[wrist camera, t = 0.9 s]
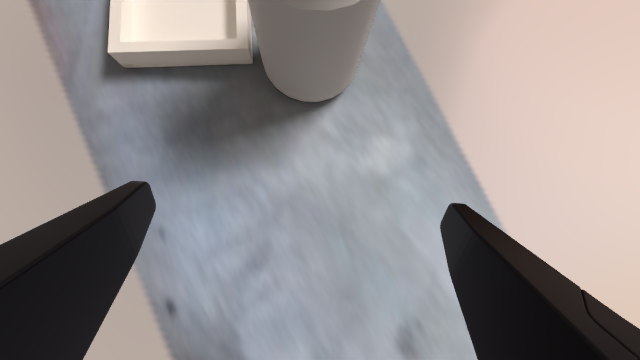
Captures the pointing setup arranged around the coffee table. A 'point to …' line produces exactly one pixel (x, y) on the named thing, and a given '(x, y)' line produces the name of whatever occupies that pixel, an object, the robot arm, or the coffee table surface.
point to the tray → (180, 32)
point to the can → (312, 43)
